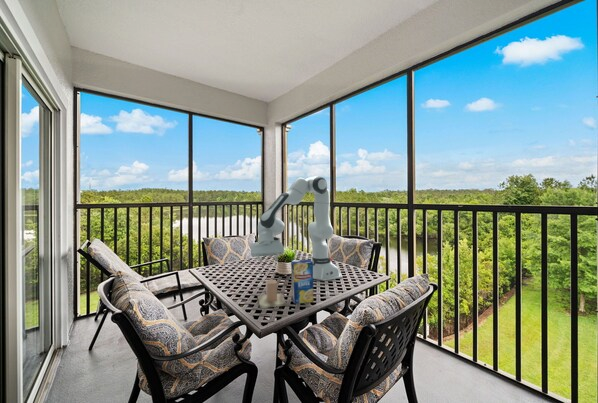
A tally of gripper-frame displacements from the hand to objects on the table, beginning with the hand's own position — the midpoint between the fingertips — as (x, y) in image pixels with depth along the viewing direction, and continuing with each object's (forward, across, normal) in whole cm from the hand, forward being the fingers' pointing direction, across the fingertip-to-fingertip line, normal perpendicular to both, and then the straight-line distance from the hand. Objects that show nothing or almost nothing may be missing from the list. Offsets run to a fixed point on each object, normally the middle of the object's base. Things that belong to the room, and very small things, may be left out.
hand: (268, 261), depth 153 cm
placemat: (+22, 0, +7) cm, 22 cm away
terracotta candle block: (+21, 0, +6) cm, 21 cm away
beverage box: (+24, +17, +5) cm, 30 cm away
